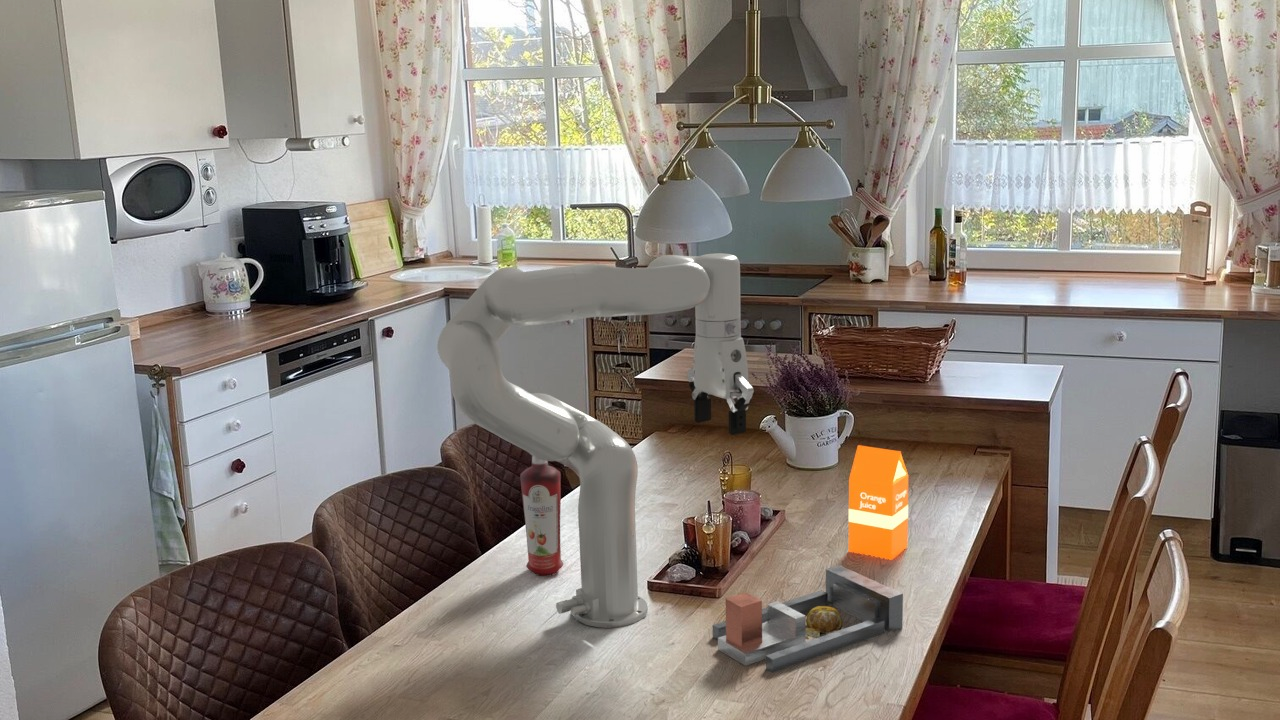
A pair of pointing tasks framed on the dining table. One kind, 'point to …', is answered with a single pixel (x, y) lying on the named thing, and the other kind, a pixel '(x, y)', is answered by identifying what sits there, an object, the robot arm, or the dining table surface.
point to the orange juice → (878, 503)
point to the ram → (759, 629)
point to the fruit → (822, 621)
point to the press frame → (850, 596)
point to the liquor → (542, 517)
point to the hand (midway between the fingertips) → (719, 427)
